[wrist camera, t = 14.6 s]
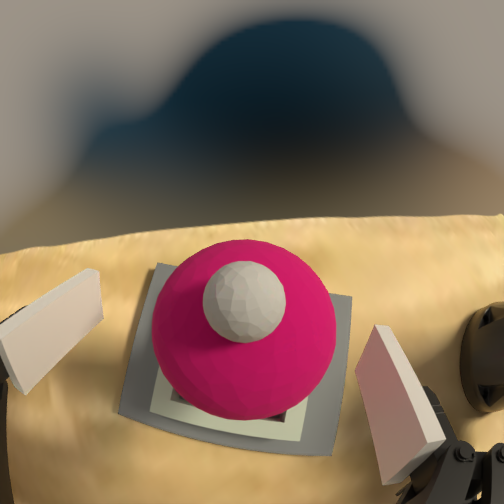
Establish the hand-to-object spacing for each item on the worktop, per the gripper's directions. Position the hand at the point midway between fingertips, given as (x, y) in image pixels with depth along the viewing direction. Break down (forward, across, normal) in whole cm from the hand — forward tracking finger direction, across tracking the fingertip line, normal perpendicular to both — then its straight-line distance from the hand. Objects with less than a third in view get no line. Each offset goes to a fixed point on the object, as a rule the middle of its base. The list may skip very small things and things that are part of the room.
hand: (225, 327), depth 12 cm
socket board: (+10, 0, -11) cm, 14 cm away
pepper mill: (+9, +1, -10) cm, 13 cm away
